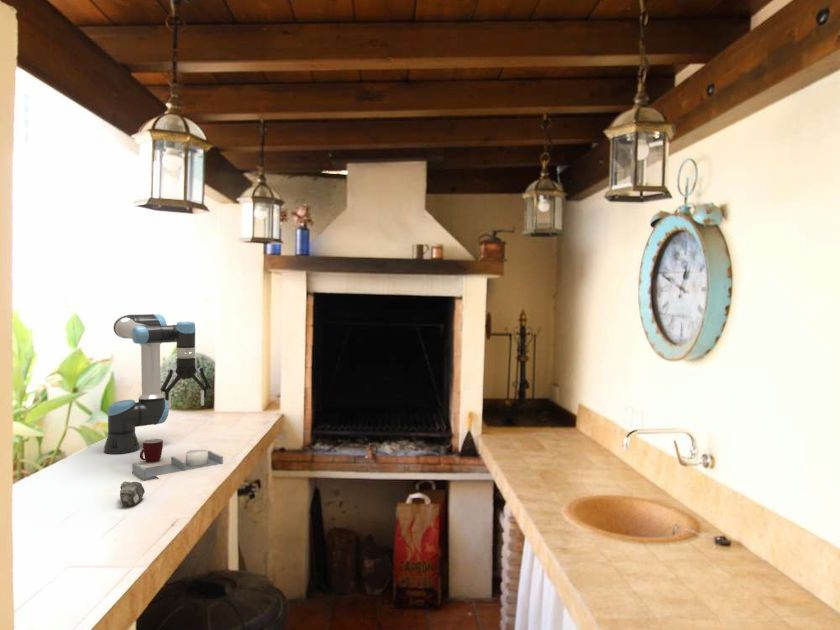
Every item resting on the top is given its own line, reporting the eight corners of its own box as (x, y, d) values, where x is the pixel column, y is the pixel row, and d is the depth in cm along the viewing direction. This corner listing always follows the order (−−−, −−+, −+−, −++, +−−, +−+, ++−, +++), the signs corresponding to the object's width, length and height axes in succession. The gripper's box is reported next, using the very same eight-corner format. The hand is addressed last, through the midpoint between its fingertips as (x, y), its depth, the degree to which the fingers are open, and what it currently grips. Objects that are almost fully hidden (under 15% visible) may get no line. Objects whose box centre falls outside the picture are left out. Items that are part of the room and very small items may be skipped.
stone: (146, 514, 220) (140, 494, 215) (124, 520, 218) (117, 500, 213) (146, 488, 231) (140, 468, 226) (125, 493, 229) (119, 473, 224)
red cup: (149, 468, 264) (149, 445, 264) (134, 466, 267) (134, 443, 267) (166, 462, 274) (166, 439, 274) (152, 460, 277) (152, 438, 277)
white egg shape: (182, 463, 268) (182, 451, 268) (202, 459, 274) (202, 448, 274) (190, 467, 262) (190, 455, 262) (211, 463, 268) (211, 452, 268)
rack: (132, 473, 257) (132, 463, 257) (209, 459, 279) (209, 450, 279) (143, 480, 246) (143, 470, 246) (222, 466, 269) (222, 456, 268)
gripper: (156, 359, 256) (156, 410, 257) (217, 356, 270) (217, 405, 270) (153, 357, 262) (153, 407, 263) (213, 355, 276) (213, 402, 277)
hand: (185, 406), depth 267 cm, fingers open, 13 cm apart
